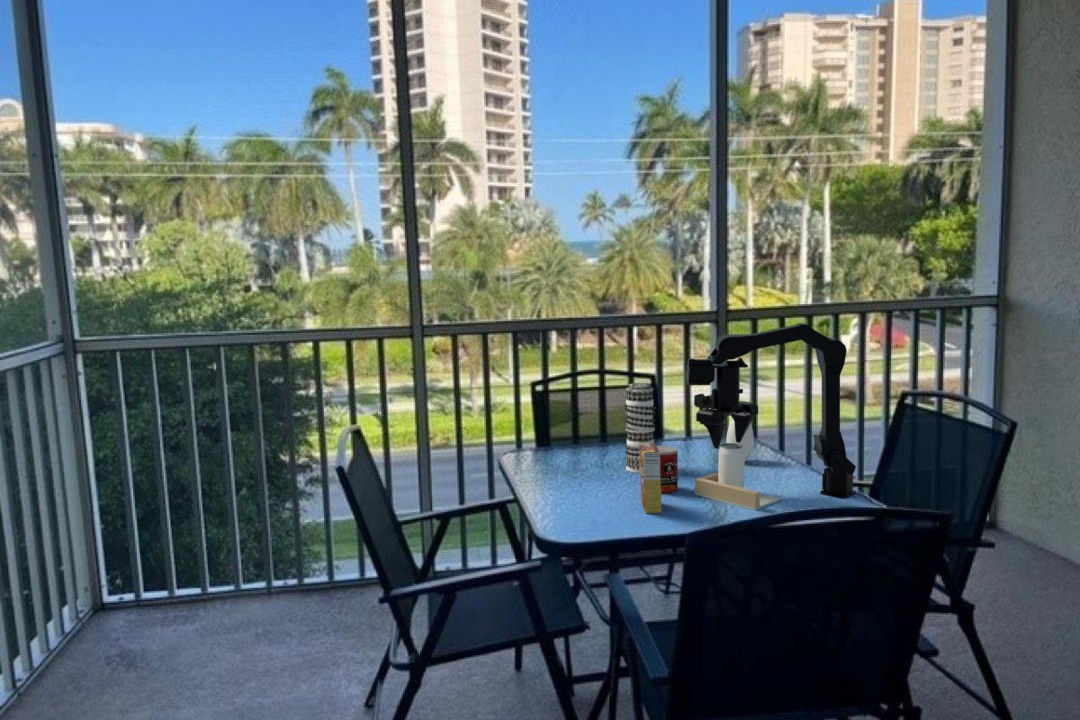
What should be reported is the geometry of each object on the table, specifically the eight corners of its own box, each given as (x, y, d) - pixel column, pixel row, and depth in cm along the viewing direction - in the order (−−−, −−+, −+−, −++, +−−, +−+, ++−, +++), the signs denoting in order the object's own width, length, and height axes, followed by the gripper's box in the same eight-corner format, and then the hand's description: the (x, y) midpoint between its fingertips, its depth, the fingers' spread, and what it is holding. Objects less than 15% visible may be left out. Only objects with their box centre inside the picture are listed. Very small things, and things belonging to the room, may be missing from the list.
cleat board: (780, 500, 196) (780, 484, 195) (754, 510, 189) (755, 493, 188) (721, 486, 210) (721, 471, 209) (695, 494, 202) (695, 479, 202)
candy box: (639, 502, 197) (638, 443, 195) (656, 502, 197) (656, 442, 195) (643, 514, 189) (643, 451, 187) (661, 513, 188) (661, 451, 187)
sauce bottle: (754, 465, 229) (755, 404, 227) (727, 465, 230) (727, 404, 228) (752, 458, 236) (752, 399, 234) (725, 458, 238) (725, 399, 235)
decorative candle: (621, 472, 226) (620, 386, 223) (628, 463, 234) (627, 381, 231) (653, 474, 223) (652, 387, 220) (658, 465, 232) (658, 381, 228)
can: (715, 493, 201) (716, 447, 200) (721, 486, 207) (721, 441, 205) (741, 496, 198) (741, 449, 197) (746, 489, 204) (746, 443, 203)
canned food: (655, 495, 203) (655, 453, 202) (643, 486, 211) (643, 446, 209) (683, 492, 205) (682, 450, 204) (670, 483, 213) (669, 444, 211)
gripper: (724, 377, 211) (723, 434, 213) (679, 386, 199) (679, 446, 201) (759, 381, 202) (759, 441, 204) (715, 391, 190) (714, 454, 192)
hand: (727, 445), depth 200 cm, fingers open, 9 cm apart
